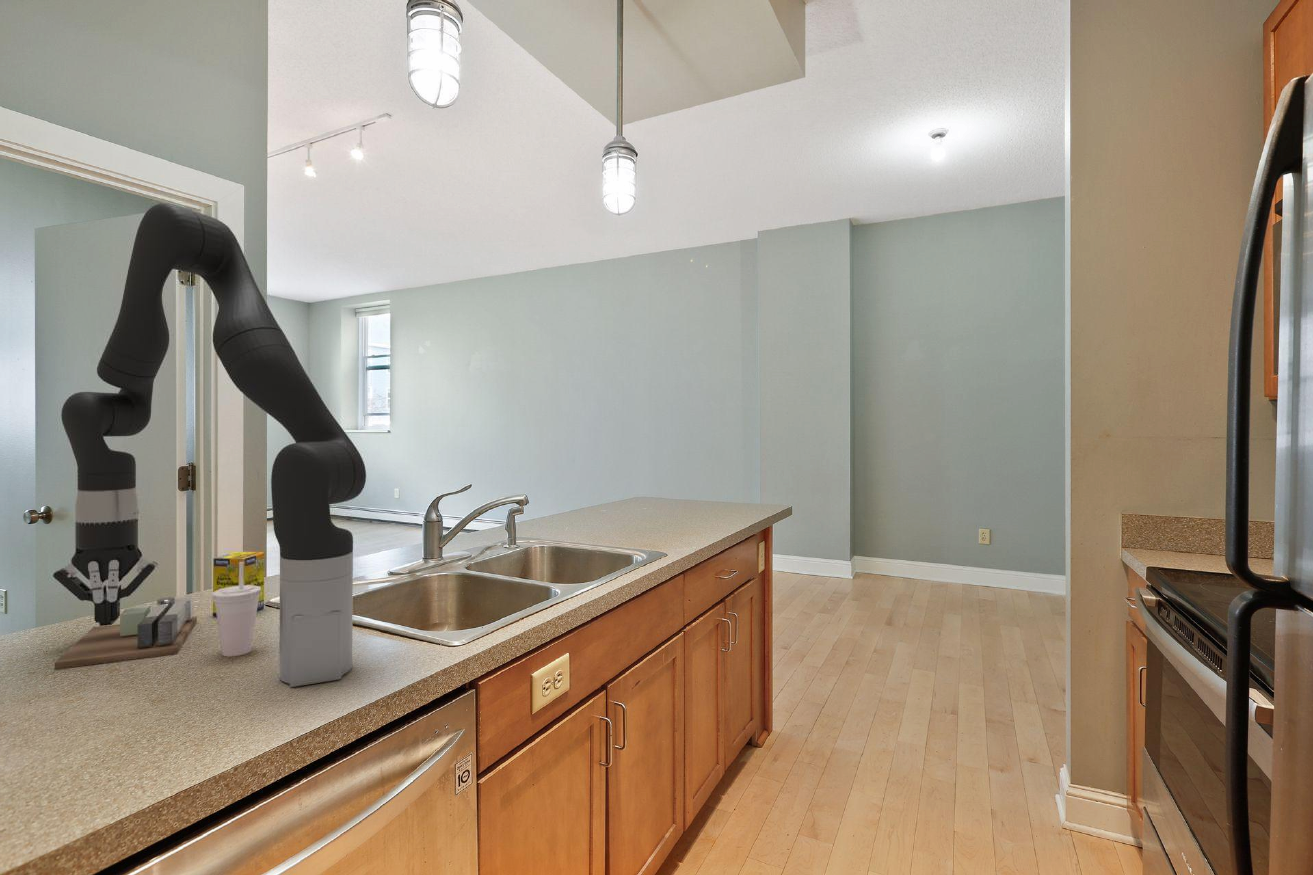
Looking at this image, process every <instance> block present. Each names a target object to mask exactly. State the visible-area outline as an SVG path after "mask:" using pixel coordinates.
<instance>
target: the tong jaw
mask: <svg viewBox="0 0 1313 875" xmlns="http://www.w3.org/2000/svg"><path fill="white" fill-rule="evenodd" d="M168 610H169V604H160V605H157V604H156V605H155V606H154V608H152V610H150V613H149V614H148V615H147V616H146V617H144V619H143V620H142V621H141V622H140V623H139V624H138V648H145V647H152V646H153V644H154V643H155V642H156V641H157V639H158V622H159V621H160V620H161V618H162V617H163V616H164V615H165V614H166V613H167V612H168Z"/></svg>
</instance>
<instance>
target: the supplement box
mask: <svg viewBox="0 0 1313 875" xmlns="http://www.w3.org/2000/svg"><path fill="white" fill-rule="evenodd" d="M265 555H266V554H265V552H263V551H233V552H231V553H227V554H224V555H220V556H215V557H213V558H212V572H213V573H212V574H213V575H212V593H213V592H215V591H217V590H219V589H223V588H227V587H233V586H239V562H243V585H254V586H259V587H261V593H262V594H261V595H260V596H259V599H258V607H257V612H258V611H261V610H263V609H264V608H265ZM212 617H213V618H217V614H216V608H215V602H214V601H212Z"/></svg>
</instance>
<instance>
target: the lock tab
mask: <svg viewBox="0 0 1313 875" xmlns="http://www.w3.org/2000/svg"><path fill="white" fill-rule="evenodd" d="M150 612H151V605H144V606H132V607H126V608H125V609H124V610H123V611H122V612H120V616H119V624H120V636H127V635H136V634H138V624H139V623H140V622H141V621H142V620H143V619H144V617H146V616H147V615H148V614H149V613H150Z"/></svg>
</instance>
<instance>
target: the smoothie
mask: <svg viewBox="0 0 1313 875" xmlns="http://www.w3.org/2000/svg"><path fill="white" fill-rule="evenodd" d="M261 594H262V593H261V587H259V586H254V585H243V562H239V586H233V587H227V588H223V589H219V590H217V591H215V592H213V591H212V594H211V595H212V597H211V601H212V602H213V601H214V602H215V608H216V614H217V617H216V620H217V627H218V634H219V639H220V646H221V653H222V656H224V657H230V658H231V657H239V656H242V655H246V654H248V653H250V652H251V651H252V646H253V641H254V634H255V627H256V619H257V612H258V611H257V607H258V599H259V596H260V595H261Z"/></svg>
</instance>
